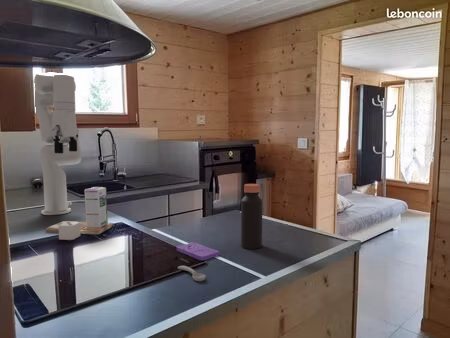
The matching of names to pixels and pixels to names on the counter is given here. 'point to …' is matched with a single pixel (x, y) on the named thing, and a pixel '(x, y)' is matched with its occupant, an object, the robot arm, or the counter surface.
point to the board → (83, 228)
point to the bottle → (251, 217)
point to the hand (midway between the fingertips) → (66, 152)
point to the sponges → (197, 251)
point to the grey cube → (69, 230)
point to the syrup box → (96, 207)
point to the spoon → (196, 275)
